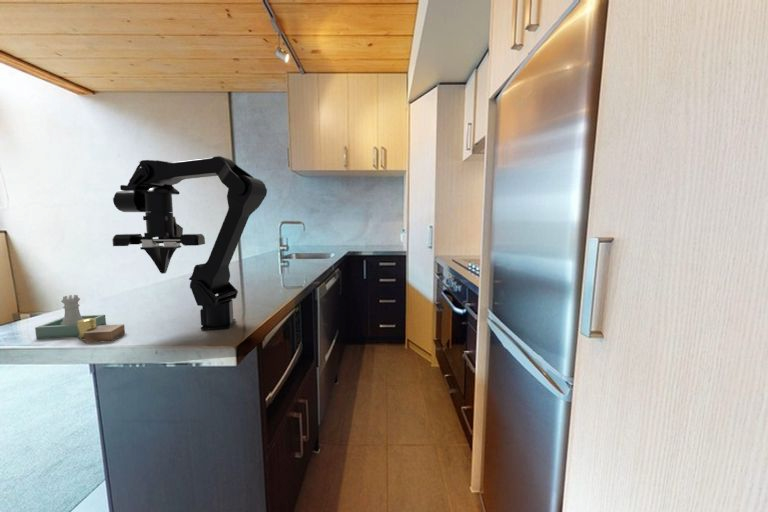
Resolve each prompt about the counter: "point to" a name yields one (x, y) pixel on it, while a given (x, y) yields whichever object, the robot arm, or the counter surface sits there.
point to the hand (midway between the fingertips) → (163, 273)
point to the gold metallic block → (85, 326)
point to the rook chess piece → (71, 310)
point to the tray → (64, 327)
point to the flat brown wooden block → (104, 333)
